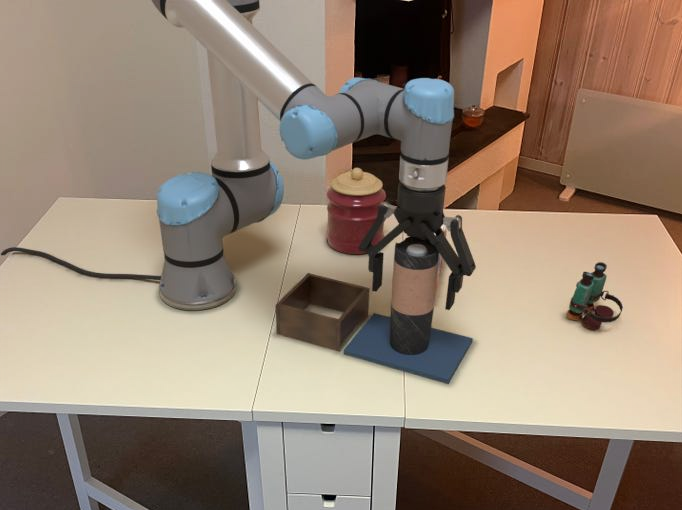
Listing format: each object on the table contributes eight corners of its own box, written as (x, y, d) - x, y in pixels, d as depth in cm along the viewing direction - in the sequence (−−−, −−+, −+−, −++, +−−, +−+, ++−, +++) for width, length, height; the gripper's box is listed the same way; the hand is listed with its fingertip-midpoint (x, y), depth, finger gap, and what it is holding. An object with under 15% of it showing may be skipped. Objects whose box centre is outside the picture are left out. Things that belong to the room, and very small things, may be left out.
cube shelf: (276, 334, 142) (275, 304, 138) (308, 300, 152) (307, 272, 148) (339, 351, 138) (340, 322, 134) (368, 316, 148) (369, 287, 144)
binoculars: (619, 295, 136) (571, 271, 141) (601, 341, 143) (556, 315, 148) (643, 278, 141) (596, 255, 146) (624, 323, 148) (580, 299, 153)
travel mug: (431, 356, 135) (442, 257, 123) (389, 355, 135) (395, 256, 123) (428, 332, 141) (437, 236, 130) (387, 331, 141) (393, 235, 130)
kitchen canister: (390, 252, 169) (394, 177, 158) (334, 258, 166) (334, 182, 156) (374, 227, 179) (377, 155, 169) (321, 232, 177) (321, 159, 166)
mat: (343, 354, 137) (343, 349, 137) (373, 316, 148) (373, 312, 147) (448, 384, 130) (449, 379, 130) (472, 342, 141) (472, 338, 140)
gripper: (341, 177, 121) (339, 290, 134) (492, 206, 113) (475, 324, 126) (359, 161, 127) (356, 271, 139) (505, 188, 118) (487, 303, 131)
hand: (412, 297), depth 133 cm, fingers open, 13 cm apart
